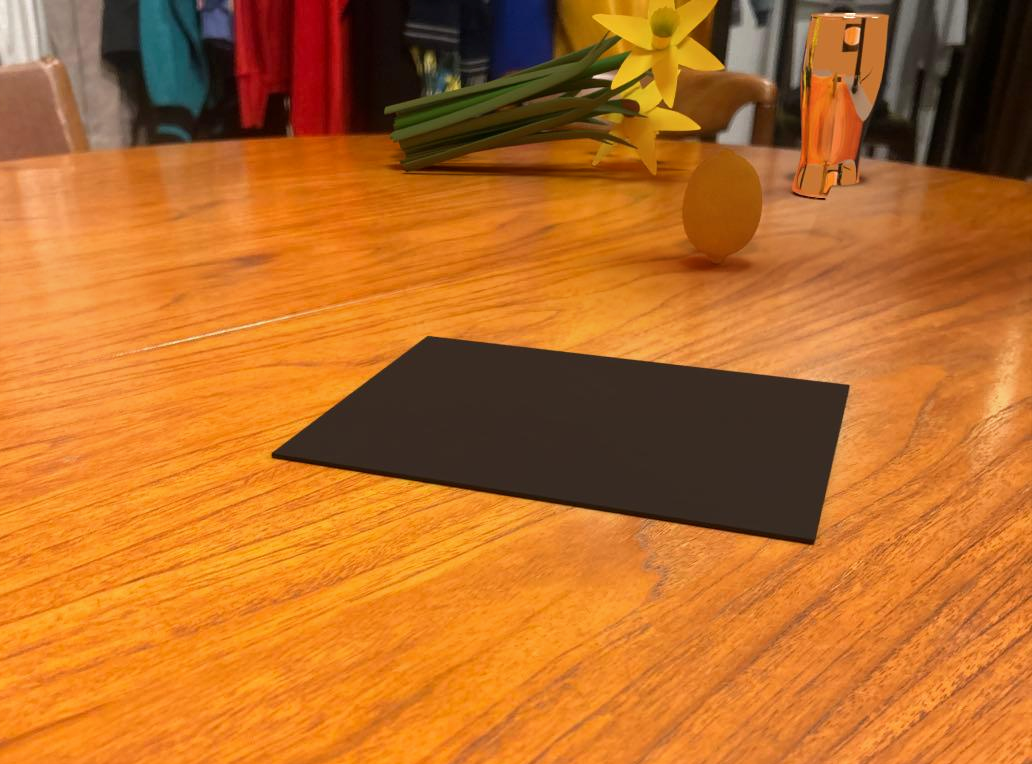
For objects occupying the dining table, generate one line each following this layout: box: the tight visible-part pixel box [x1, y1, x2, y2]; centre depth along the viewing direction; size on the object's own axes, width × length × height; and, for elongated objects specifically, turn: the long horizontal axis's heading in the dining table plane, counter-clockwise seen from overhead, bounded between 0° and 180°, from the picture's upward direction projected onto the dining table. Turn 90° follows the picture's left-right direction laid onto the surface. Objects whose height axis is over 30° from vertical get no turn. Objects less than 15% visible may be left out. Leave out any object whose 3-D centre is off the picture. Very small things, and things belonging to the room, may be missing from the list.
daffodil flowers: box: [384, 0, 726, 176], centre depth 108 cm, size 17×15×35 cm
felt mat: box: [271, 335, 851, 545], centre depth 53 cm, size 24×18×1 cm
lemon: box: [681, 147, 763, 265], centre depth 77 cm, size 6×6×8 cm
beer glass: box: [791, 12, 890, 198], centre depth 98 cm, size 7×7×15 cm
